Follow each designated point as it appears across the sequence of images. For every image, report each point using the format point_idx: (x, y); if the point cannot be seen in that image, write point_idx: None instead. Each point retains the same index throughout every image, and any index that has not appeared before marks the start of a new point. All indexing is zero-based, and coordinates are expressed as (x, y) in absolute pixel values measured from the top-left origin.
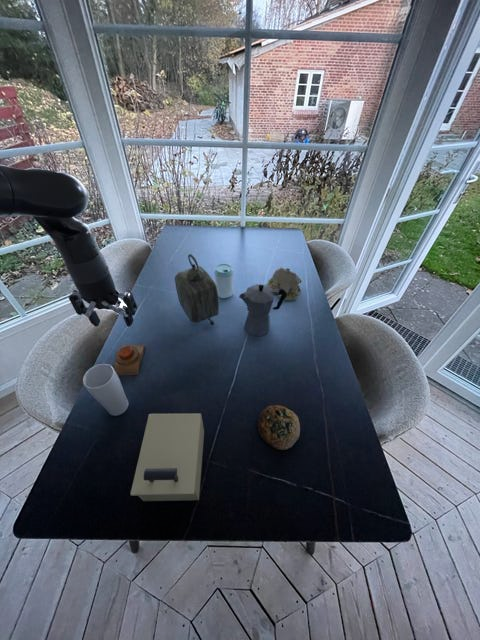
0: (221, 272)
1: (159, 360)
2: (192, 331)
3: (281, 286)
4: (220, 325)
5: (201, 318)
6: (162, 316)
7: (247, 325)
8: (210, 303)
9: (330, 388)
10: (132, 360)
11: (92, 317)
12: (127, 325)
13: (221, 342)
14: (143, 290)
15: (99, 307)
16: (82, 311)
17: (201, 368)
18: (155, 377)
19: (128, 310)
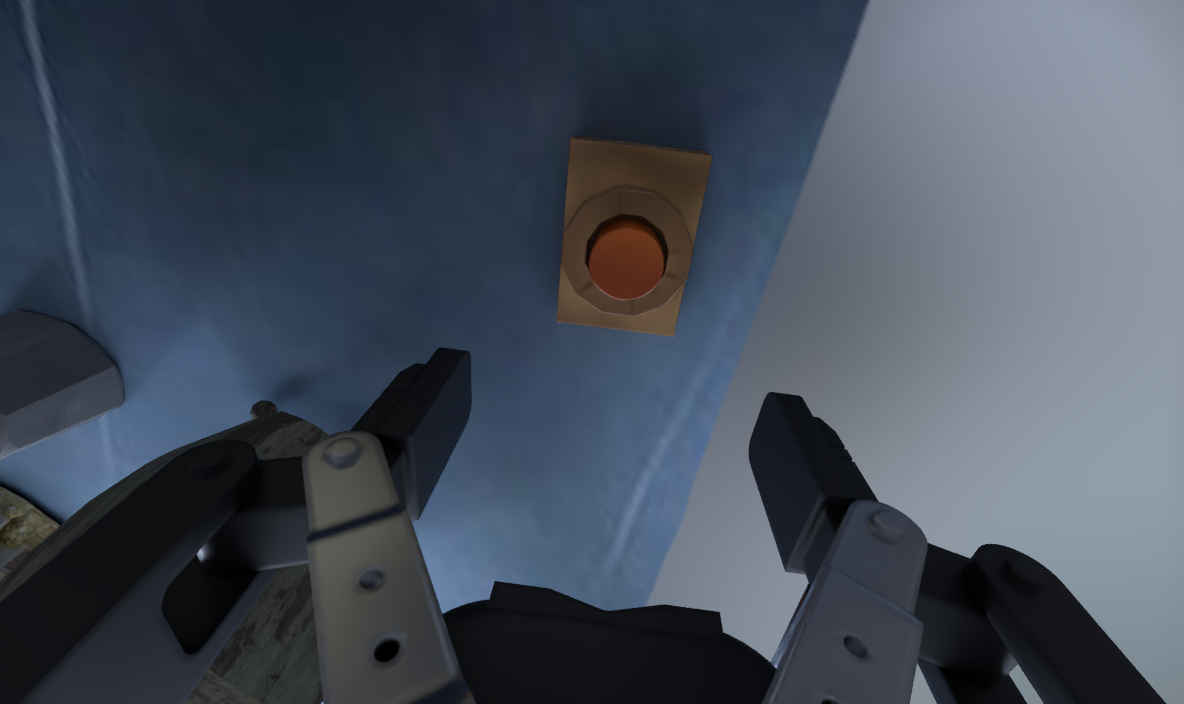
0: None
1: (474, 223)
2: (355, 379)
3: (6, 550)
4: (235, 394)
5: (237, 426)
6: (513, 476)
7: (59, 368)
8: (103, 505)
9: None
10: (586, 204)
11: (818, 486)
12: (453, 356)
13: (195, 297)
14: (618, 607)
15: (677, 658)
16: (970, 598)
17: (239, 140)
18: (472, 105)
19: (192, 522)
